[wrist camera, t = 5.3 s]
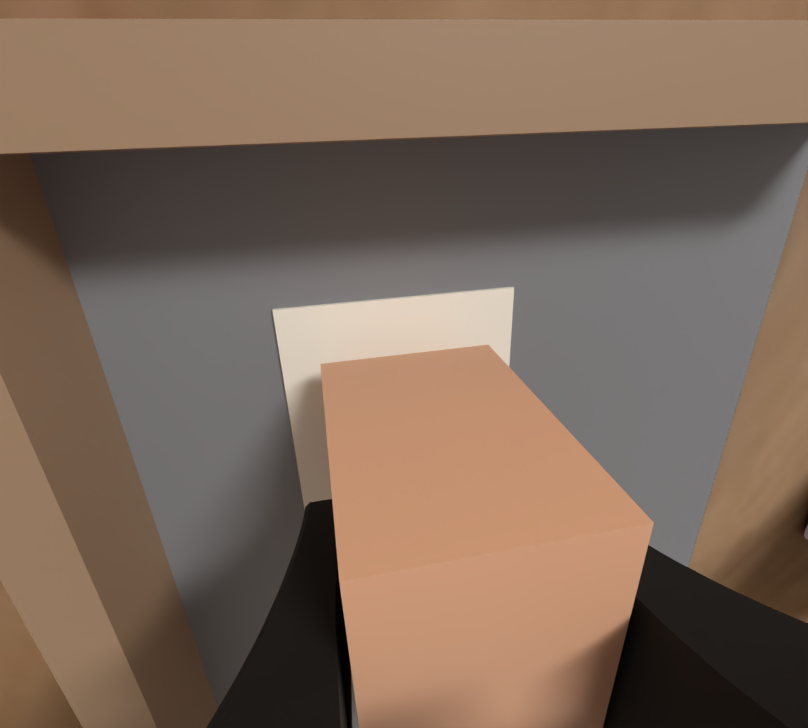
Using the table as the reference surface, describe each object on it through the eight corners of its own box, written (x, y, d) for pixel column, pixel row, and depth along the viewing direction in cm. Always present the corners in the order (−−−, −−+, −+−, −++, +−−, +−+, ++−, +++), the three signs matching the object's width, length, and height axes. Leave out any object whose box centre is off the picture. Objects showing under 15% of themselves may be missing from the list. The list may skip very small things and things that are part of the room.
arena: (809, 58, 12) (1026, 20, 8) (637, 683, 23) (699, 783, 19) (-66, 69, 9) (-312, 18, 5) (214, 787, 20) (194, 928, 16)
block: (479, 556, 14) (584, 800, 9) (347, 581, 14) (376, 859, 8) (488, 344, 11) (654, 523, 6) (320, 364, 11) (339, 581, 5)
